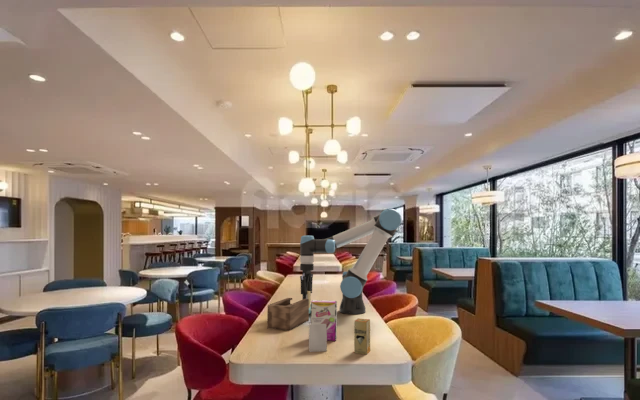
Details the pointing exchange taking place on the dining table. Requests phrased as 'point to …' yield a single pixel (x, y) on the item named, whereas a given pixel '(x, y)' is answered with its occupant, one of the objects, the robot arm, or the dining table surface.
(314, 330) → the white rectangular block
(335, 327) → the candy bar box
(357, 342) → the shoe polish box
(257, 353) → the dining table surface
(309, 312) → the cover plate
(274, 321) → the walnut box
